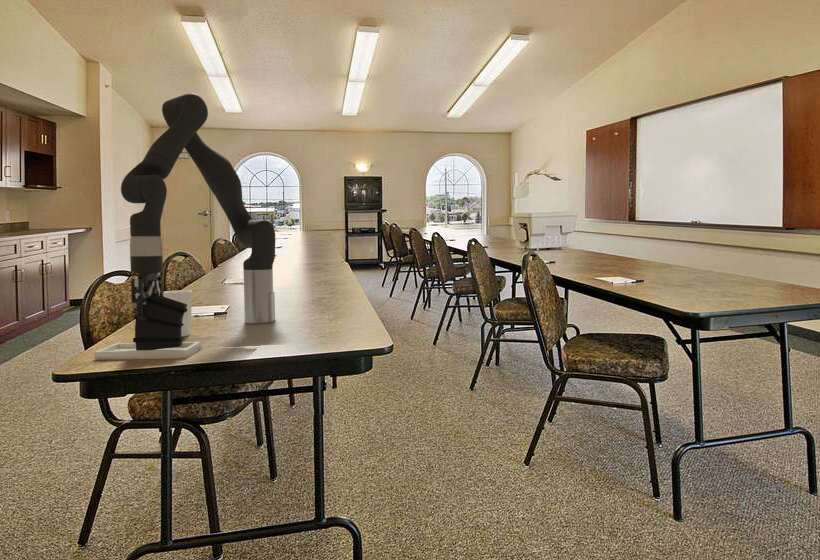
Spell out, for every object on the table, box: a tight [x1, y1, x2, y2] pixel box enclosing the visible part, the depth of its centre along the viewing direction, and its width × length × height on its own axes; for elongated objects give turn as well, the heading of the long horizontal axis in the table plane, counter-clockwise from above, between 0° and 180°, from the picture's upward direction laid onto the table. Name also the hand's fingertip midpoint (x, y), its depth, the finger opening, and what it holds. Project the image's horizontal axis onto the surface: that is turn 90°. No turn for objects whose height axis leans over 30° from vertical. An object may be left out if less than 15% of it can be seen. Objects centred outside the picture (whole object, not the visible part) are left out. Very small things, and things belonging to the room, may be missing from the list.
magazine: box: [132, 294, 188, 350], centre depth 147 cm, size 4×13×15 cm, turn 98°
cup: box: [163, 289, 194, 337], centre depth 169 cm, size 8×8×14 cm
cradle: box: [94, 341, 202, 361], centre depth 147 cm, size 22×12×2 cm, turn 94°
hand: (148, 317), depth 146 cm, fingers open, 8 cm apart
